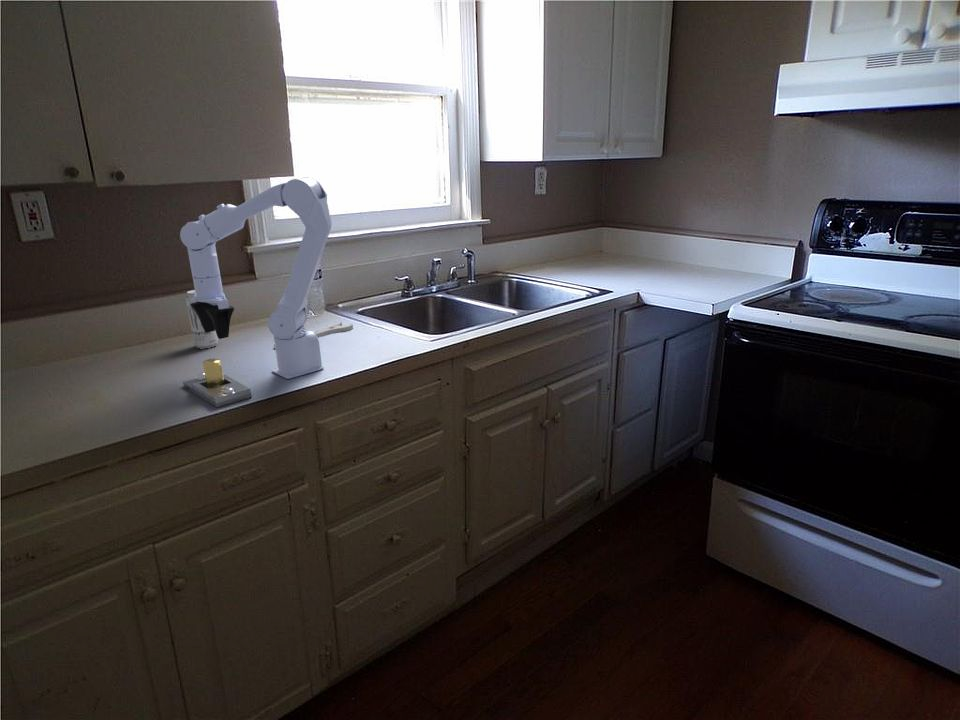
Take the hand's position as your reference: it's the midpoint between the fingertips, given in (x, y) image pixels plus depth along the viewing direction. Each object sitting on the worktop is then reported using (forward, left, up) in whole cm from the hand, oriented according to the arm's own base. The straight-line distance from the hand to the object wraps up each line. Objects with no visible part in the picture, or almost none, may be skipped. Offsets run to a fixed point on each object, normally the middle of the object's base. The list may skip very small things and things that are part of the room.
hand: (216, 334), depth 144 cm
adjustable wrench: (-30, -11, -10) cm, 33 cm away
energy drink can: (-6, -25, -10) cm, 27 cm away
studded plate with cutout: (+6, +11, -9) cm, 16 cm away
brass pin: (+6, +11, -9) cm, 16 cm away
